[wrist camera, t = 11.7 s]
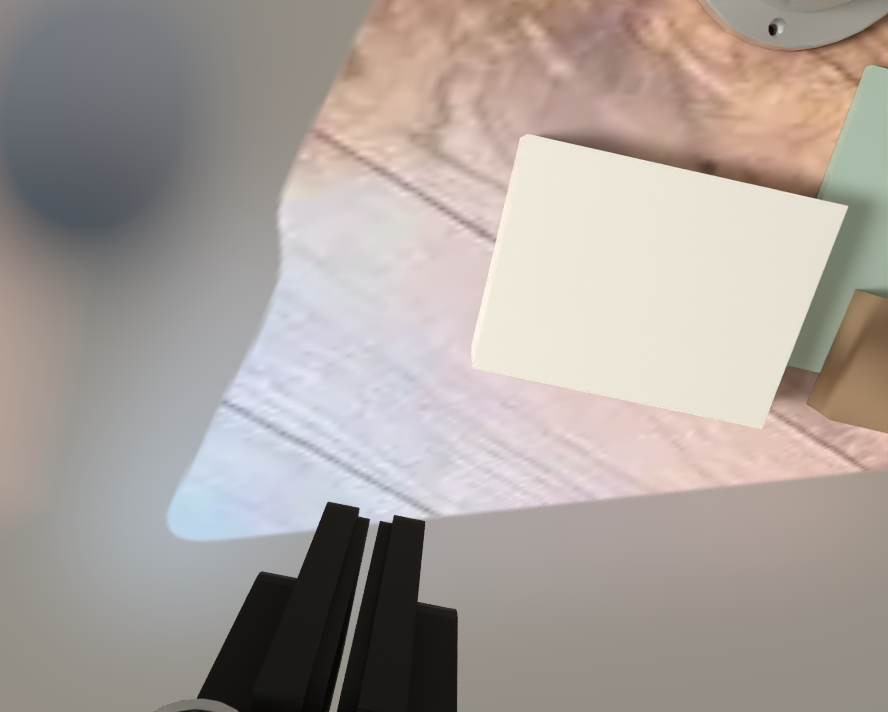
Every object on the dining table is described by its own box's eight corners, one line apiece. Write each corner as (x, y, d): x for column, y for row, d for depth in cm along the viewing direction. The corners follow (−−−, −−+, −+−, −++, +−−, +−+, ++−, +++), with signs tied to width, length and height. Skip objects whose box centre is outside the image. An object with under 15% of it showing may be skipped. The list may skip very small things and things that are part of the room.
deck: (520, 137, 34) (527, 134, 30) (805, 201, 35) (848, 206, 31) (471, 347, 38) (472, 368, 34) (731, 402, 38) (761, 428, 34)
